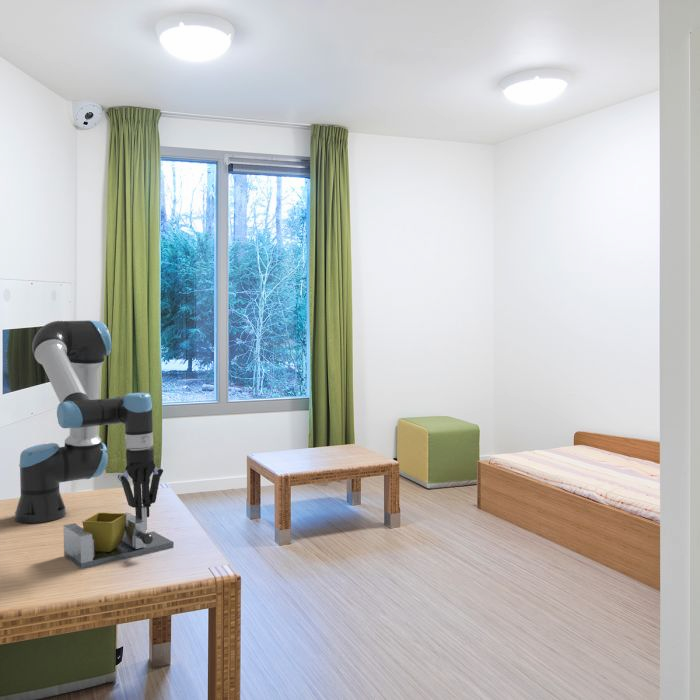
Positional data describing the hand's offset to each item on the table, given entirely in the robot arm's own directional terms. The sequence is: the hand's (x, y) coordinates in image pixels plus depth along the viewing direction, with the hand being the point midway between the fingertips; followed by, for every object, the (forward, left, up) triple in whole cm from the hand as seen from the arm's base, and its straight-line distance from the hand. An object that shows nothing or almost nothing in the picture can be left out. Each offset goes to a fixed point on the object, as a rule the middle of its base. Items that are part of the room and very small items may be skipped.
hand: (143, 529), depth 197 cm
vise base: (0, -7, -5) cm, 9 cm away
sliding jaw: (+3, -4, -3) cm, 6 cm away
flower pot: (0, -11, -4) cm, 12 cm away
